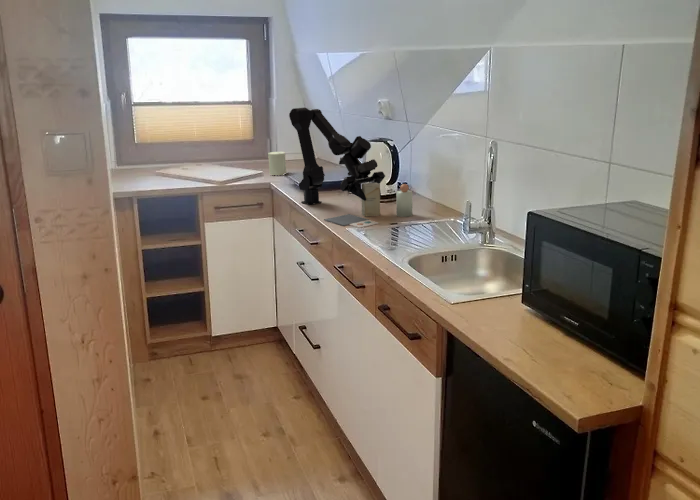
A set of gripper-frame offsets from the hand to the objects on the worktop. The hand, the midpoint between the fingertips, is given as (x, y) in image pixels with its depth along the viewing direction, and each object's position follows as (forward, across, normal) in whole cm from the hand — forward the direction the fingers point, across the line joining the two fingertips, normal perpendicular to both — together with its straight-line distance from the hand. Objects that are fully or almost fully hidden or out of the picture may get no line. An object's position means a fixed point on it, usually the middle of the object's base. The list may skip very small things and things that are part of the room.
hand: (373, 198), depth 236 cm
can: (-70, +24, +80) cm, 109 cm away
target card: (+10, -11, -1) cm, 15 cm away
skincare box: (+4, 0, +6) cm, 7 cm away
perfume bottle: (+10, +9, -1) cm, 13 cm away
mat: (+4, -12, +6) cm, 14 cm away
